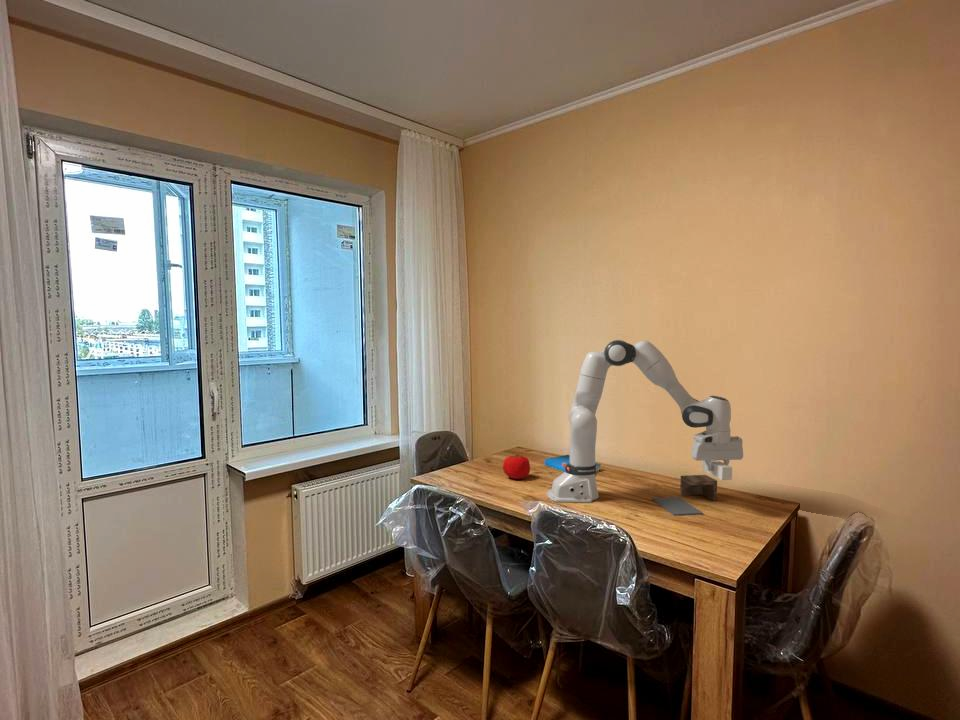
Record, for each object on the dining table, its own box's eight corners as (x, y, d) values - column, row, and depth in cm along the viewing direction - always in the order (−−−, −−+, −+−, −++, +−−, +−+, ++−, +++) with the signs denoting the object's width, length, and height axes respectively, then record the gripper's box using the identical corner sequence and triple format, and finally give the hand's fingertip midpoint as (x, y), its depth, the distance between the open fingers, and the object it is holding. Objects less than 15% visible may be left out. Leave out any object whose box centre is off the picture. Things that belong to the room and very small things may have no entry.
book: (567, 454, 278) (601, 463, 257) (567, 462, 278) (601, 471, 257) (544, 458, 268) (577, 468, 247) (544, 466, 269) (577, 477, 248)
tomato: (531, 481, 239) (530, 457, 239) (503, 481, 239) (503, 458, 239) (529, 474, 251) (528, 451, 251) (502, 474, 252) (502, 452, 251)
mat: (673, 515, 193) (673, 514, 193) (652, 499, 212) (652, 498, 212) (703, 514, 195) (703, 512, 195) (678, 498, 213) (678, 497, 213)
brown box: (691, 501, 209) (691, 481, 209) (680, 494, 218) (680, 475, 218) (716, 500, 210) (717, 480, 210) (705, 493, 219) (705, 474, 219)
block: (722, 480, 193) (722, 467, 193) (702, 470, 207) (702, 458, 207) (731, 479, 194) (732, 467, 193) (711, 469, 207) (711, 458, 207)
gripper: (737, 434, 203) (736, 467, 204) (690, 435, 201) (689, 469, 202) (747, 437, 197) (746, 472, 198) (698, 438, 195) (697, 473, 196)
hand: (716, 470), depth 200 cm, fingers closed on block, 4 cm apart
